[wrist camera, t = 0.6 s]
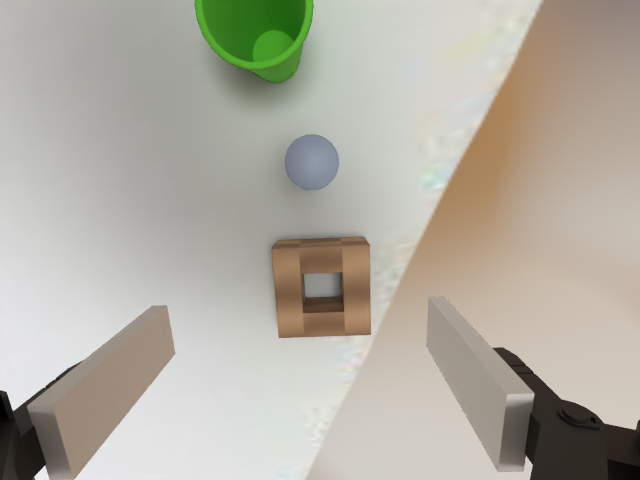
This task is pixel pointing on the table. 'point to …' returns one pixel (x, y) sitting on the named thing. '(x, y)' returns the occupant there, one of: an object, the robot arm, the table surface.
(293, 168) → the blue-grey rounded rod
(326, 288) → the table surface
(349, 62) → the table surface
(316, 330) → the wooden socket block
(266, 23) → the cup
